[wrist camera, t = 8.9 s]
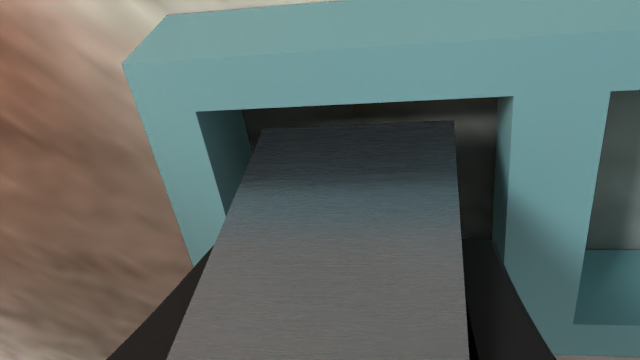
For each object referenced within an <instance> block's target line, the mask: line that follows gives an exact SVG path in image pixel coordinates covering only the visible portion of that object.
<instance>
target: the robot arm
mask: <svg viewBox="0 0 640 360" xmlns="http://www.w3.org/2000/svg"><path fill="white" fill-rule="evenodd" d="M213 247H214V245H213V246H212V247H211V249H210V250H209V251H208V252H207V253H206V254H205V255H204V256H203V257H202V258H201V260H200V261H199V262H198V263H197V264H196V265H195V266H194V268H193V269H192V270H191V271H190V272H189V273H188V274H187V276H186V277H185V278H184V279H183V280H182V281H181V282H180V283H179V285H178V286H177V287H176V288H175V289H174V290H173V291H172V292H171V293H170V295H169V296H168V297H167V298H166V299H165V300H164V301H163V302H162V303H161V304H160V305H159V306H158V308H157V309H156V310H155V311H154V312H153V313H152V314H151V315H150V316H149V317H148V318H147V319H146V320H145V322H144V323H143V324H142V325H141V326H140V327H139V328H138V329H137V330H136V331H135V332H134V333H133V334H132V335H131V336H130V337H129V338H128V339H127V340H126V341H125V342H124V343H123V344H122V345H121V346H120V347H119V348H118V349H117V350H116V351H115V352H114V353H113V354H112V355H111V356H109V357H108V358H107V359H106V360H166V359H167V357H168V354H169V352H170V349H171V347H172V345H173V342H174V340H175V337H176V335H177V333H178V330H179V328H180V326H181V323H182V321H183V318H184V316H185V314H186V311H187V309H188V306H189V304H190V302H191V299H192V297H193V294H194V292H195V290H196V287H197V285H198V283H199V280H200V278H201V275H202V273H203V271H204V268H205V266H206V263H207V261H208V259H209V256H210V254H211V252H212V249H213ZM462 255H463V271H464V286H465V301H466V317H467V332H468V347H469V360H556V358H555V357H554V355H553V354H552V352H551V351H550V349H549V347H548V346H547V344H546V342H545V341H544V339H543V338H542V336H541V334H540V333H539V331H538V329H537V327H536V326H535V324H534V322H533V320H532V319H531V317H530V315H529V314H528V312H527V310H526V308H525V306H524V305H523V303H522V301H521V299H520V297H519V295H518V293H517V291H516V289H515V287H514V285H513V283H512V281H511V279H510V277H509V274H508V272H507V270H506V268H505V265H504V263H503V260H502V258H501V255H500V252H499V249H498V246H497V244H496V243H495V242H494V241H492V240H491V239H469V240H462Z"/></svg>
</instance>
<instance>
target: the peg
mask: <svg viewBox="0 0 640 360" xmlns="http://www.w3.org/2000/svg"><path fill="white" fill-rule="evenodd" d="M166 360H469V347H468V332H467V317H466V301H465V286H464V271H463V255H462V240H461V225H460V209H459V194H458V179H457V164H456V148H455V133H454V121H430V122H407V123H383V124H360V125H336V126H312V127H289V128H265V129H263V130H262V132H261V135H260V137H259V139H258V142H257V144H256V147H255V149H254V151H253V154H252V156H251V158H250V161H249V163H248V166H247V168H246V170H245V173H244V175H243V178H242V180H241V182H240V185H239V187H238V189H237V192H236V194H235V197H234V199H233V201H232V204H231V206H230V209H229V211H228V213H227V216H226V218H225V221H224V223H223V225H222V228H221V230H220V232H219V235H218V237H217V240H216V242H215V244H214V247H213V249H212V252H211V254H210V256H209V259H208V261H207V263H206V266H205V268H204V271H203V273H202V275H201V278H200V280H199V283H198V285H197V287H196V290H195V292H194V294H193V297H192V299H191V302H190V304H189V306H188V309H187V311H186V314H185V316H184V318H183V321H182V323H181V326H180V328H179V330H178V333H177V335H176V337H175V340H174V342H173V345H172V347H171V349H170V352H169V354H168V357H167V359H166Z"/></svg>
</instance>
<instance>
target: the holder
mask: <svg viewBox="0 0 640 360" xmlns="http://www.w3.org/2000/svg"><path fill="white" fill-rule="evenodd" d="M122 67H123V70H124V73H125V76H126V78H127V81H128V84H129V87H130V90H131V92H132V95H133V98H134V101H135V104H136V107H137V109H138V112H139V115H140V118H141V121H142V124H143V126H144V129H145V132H146V135H147V138H148V140H149V143H150V146H151V149H152V152H153V155H154V157H155V160H156V163H157V166H158V169H159V172H160V174H161V177H162V180H163V183H164V186H165V189H166V191H167V194H168V197H169V200H170V203H171V205H172V208H173V211H174V214H175V217H176V220H177V222H178V225H179V228H180V231H181V234H182V237H183V239H184V242H185V245H186V248H187V251H188V254H189V256H190V259H191V262H192V265H193V268H194V266H195V265H196V264H197V263H198V262H199V261H200V260H201V258H202V257H203V256H204V255H205V254H206V253H207V252H208V251H209V250H210V249H211V247H212V246H213V245H214V244H215V242H216V240H217V237H218V235H219V232H220V230H221V228H222V225H223V223H224V221H225V218H226V216H227V213H228V211H229V209H230V206H231V204H232V201H233V199H234V197H235V194H236V192H237V189H238V187H239V185H240V182H241V180H242V178H243V175H244V173H245V170H246V168H247V166H248V163H249V161H250V158H251V156H252V151H251V147H250V142H249V138H248V134H247V130H246V126H245V122H244V117H243V113H242V109H259V108H279V107H300V106H320V105H341V104H361V103H382V102H402V101H423V100H443V99H463V98H484V97H498V108H497V132H496V157H495V181H494V205H493V229H492V241H494V242H495V243H496V244H497V246H498V249H499V252H500V255H501V258H502V260H503V263H504V265H505V268H506V270H507V272H508V274H509V277H510V279H511V281H512V283H513V285H514V287H515V289H516V291H517V293H518V295H519V297H520V299H521V301H522V303H523V305H524V306H525V308H526V310H527V312H528V314H529V315H530V317H531V319H532V320H533V322H534V324H535V326H536V327H537V329H538V331H539V333H540V334H541V336H542V338H543V339H544V341H545V342H546V344H547V346H548V347H549V349H550V351H551V352H552V354H553V355H585V356H617V357H640V250H585V247H586V241H587V235H588V229H589V222H590V216H591V210H592V204H593V198H594V192H595V185H596V179H597V173H598V167H599V161H600V155H601V149H602V142H603V136H604V130H605V124H606V118H607V112H608V105H609V99H610V93H611V91H627V90H640V0H342V1H330V2H318V3H306V4H294V5H282V6H270V7H258V8H246V9H234V10H222V11H210V12H198V13H186V14H174V15H167V16H166V17H165V18H164V19H163V20H162V21H161V22H160V23H159V24H158V25H157V26H156V27H155V29H154V30H153V31H152V32H151V33H150V34H149V35H148V36H147V37H146V38H145V39H144V40H143V41H142V42H141V44H140V45H139V46H138V47H137V48H136V49H135V50H134V51H133V52H132V53H131V54H130V55H129V56H128V58H127V59H126V60H125V61H124V62H123V63H122Z"/></svg>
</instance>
